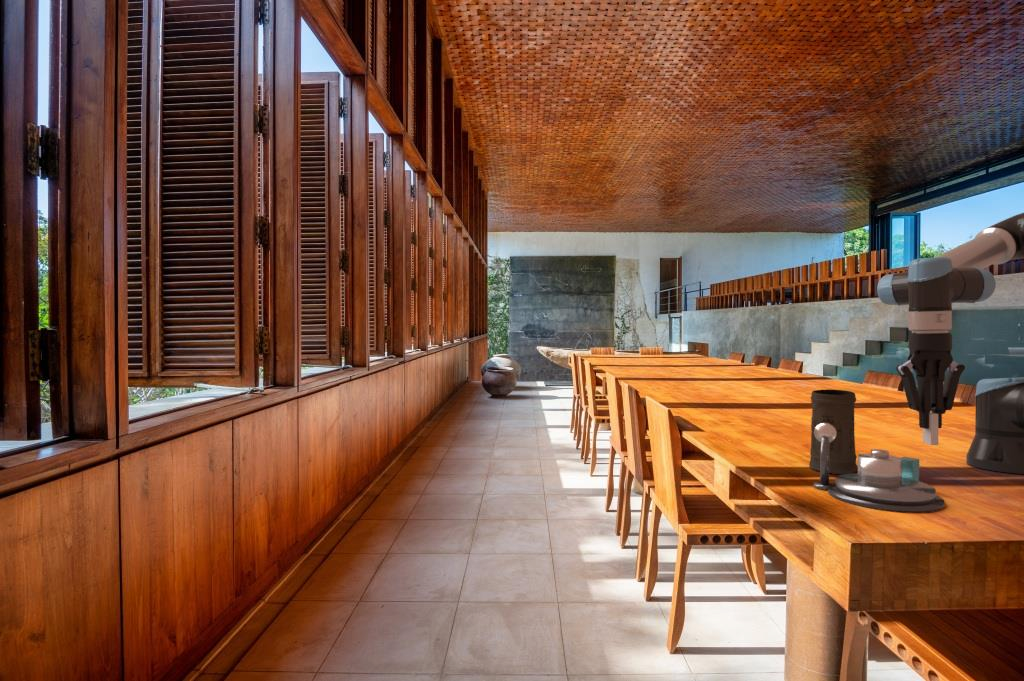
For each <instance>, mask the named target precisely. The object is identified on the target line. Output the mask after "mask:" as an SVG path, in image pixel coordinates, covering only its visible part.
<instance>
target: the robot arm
mask: <svg viewBox="0 0 1024 681" xmlns="http://www.w3.org/2000/svg"><path fill="white" fill-rule="evenodd" d="M1022 259H1024V212H1022V213H1018V214H1016V215H1013V216H1010V217H1008V218H1005V219H1004V220H1001V221H999V222H997V223H995V224H993V225H991V226H988V227H986V228H985V229H982V230H981V231H978V233H977V234H976V235H975V236H974V238H973V239H971V240H969V241H967V242H965V243H962V244H960V245H959V246H957V247H954V248H952V249H950V250H948V251H946V252H944V253H942V254H939V255H938V256H936V257H924V258H915V259H913V260H911V261H910V262H909V264H908V270H906V271H903V272H893V273H890V274H889V273H888V274H885V275H884V276H882V277H881V278H880V280H879V281H878V283H877V287H876V290H877V291H876V292H877V296H878V299H879V300H880V301H881V303H883V304H885V305H888V306H900V307H901V306H906V305H907V306H908V320H907V321H908V331H911V332H910V333H909V334H908V350H909V354H908V357H907V361H906V362H904V363H902V365H901V364H899V365H896V367H895V370H896V371H897V372H898V374H899V375H900V378H901V381H902V382H901V383H902V386H903V389H904V394H905V397H906V401H907V404H908V408H909V409H911V410H914V411H916V412H918V426H919V428H921V429H922V443H924V444H927V445H930V446H939V429H942V426H943V415H945V414H946V412H947V411H951V410H952V409H953V406H954V402H955V398H956V393H957V389H958V386H959V382H960V377H961V375H962V374H963V373H964V371H965V369H966V366H965V365H964V364H959V363H958V362H956V361H954V357H953V355H952V353H951V351H952V350H953V334H952V333H951V332H949V331H952V329H953V307H952V306H953V304H964V303H966V304H975V303H979V302H984V301H987V300H988V299H989V298H991V297H992V295H993V294H994V292H995V290H996V286H997V282H996V278H995V276H994V274H993V273H992V272H990V270H988V269H986V268H988V267H990V266H992V265H994V266H995V265H996V266H997V265H1003V264H1005V263H1007V262H1009V261H1013V260H1022ZM913 372H915V377H914V374H913ZM915 379H916V380H915ZM916 381H917V382H916ZM974 398H975V420H974V421H975V423H974V424H975V425H974V426H975V427H974V428H975V431H974V432H975V434H974V437H973V439H972V442H971V443H970V446H969V449H968V450H967V451H968V452H967V453H966V460H965V461H966V463H965V464H967V465H969V466H970V467H974V468H977V469H982V470H986V471H987V470H988V471H993V472H1002V473H1007V474H1008V473H1009V474H1010V473H1011V474H1019V475H1021V474H1023V475H1024V377H1023V376H1022V377H1021V376H1020V377H1000V378H983V379H980V380H978V382H977V383H976V389H975V394H974Z"/></svg>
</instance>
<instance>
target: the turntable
mask: <svg viewBox="0 0 1024 681" xmlns="http://www.w3.org/2000/svg"><path fill="white" fill-rule="evenodd" d="M900 458H901V459H902V487H901V488H897V489H884V488H875V487H870V486H866V485H862V484H860V483H858V472H857V473H856V472H854V473H850V474H838V475H837V476H836V477H835V480H834V481H835V482H834V483H835V488H836V490H837V491H838V492H840V493H842V494H844V495H847V496H849V497H853V498H856V499H860V500H864V501H869V502H875V503H881V504H889V505H900V506H922V505H929V504H932V503H934V502H935V501H936V495H937V492H936V491H937V490H936V488H935V487H933V486H932V485H930V484H928V483H926V482H922V481H920V459H919V458H915V457H909V456H901V457H900Z"/></svg>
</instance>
